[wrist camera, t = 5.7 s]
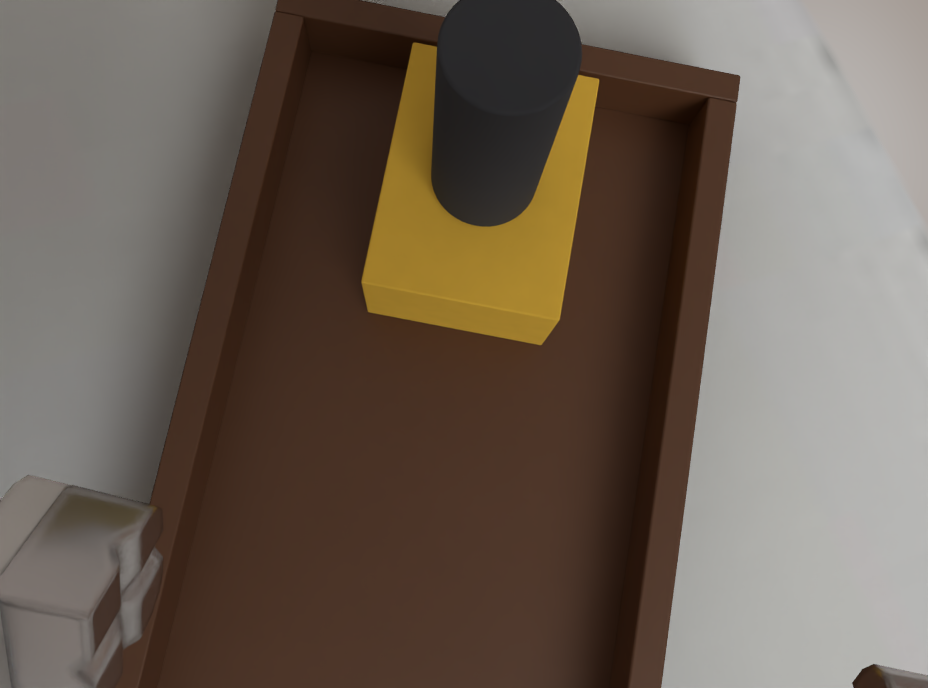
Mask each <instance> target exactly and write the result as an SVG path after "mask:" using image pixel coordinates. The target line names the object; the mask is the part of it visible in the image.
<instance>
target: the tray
mask: <svg viewBox="0 0 928 688" xmlns="http://www.w3.org/2000/svg"><path fill="white" fill-rule="evenodd" d="M275 10H276V12H275V13H274V17H273V21H272V25H271V29H270V33H269V37H268V41H267V45H266V48H265V52H264V56H263V60H262V64H261V68H260V72H259V76H258V80H257V84H256V88H255V92H254V96H253V99H252V103H251V107H250V111H249V115H248V119H247V123H246V127H245V131H244V135H243V139H242V143H241V147H240V150H239V154H238V158H237V162H236V166H235V170H234V174H233V178H232V182H231V186H230V190H229V194H228V197H227V201H226V205H225V209H224V213H223V217H222V221H221V225H220V229H219V233H218V237H217V241H216V245H215V248H214V252H213V256H212V260H211V264H210V268H209V272H208V276H207V280H206V284H205V288H204V292H203V296H202V299H201V303H200V307H199V311H198V315H197V319H196V323H195V327H194V331H193V335H192V339H191V343H190V347H189V350H188V354H187V358H186V362H185V366H184V370H183V374H182V378H181V382H180V386H179V390H178V394H177V398H176V401H175V405H174V409H173V413H172V417H171V421H170V425H169V429H168V433H167V437H166V441H165V445H164V449H163V452H162V456H161V460H160V464H159V468H158V472H157V476H156V480H155V484H154V488H153V492H152V496H151V500H150V503H149V504H151V505H155V506H158V507H160V508H161V509H163V529H164V530H163V532H162V534H161V536H160V538H159V539H158V541H157V543H156V545H155V548H156V549H157V550H158V551H159V553H160V554H161V555H162V556H163V576H162V582H161V588H160V593H159V596H158V599H157V601H156V604H155V607H154V610H153V613H152V616H151V619H150V621H149V623H148V625H147V627H146V629H145V631H144V633H143V635H142V637H141V639H140V640H138V641H136V642H135V643H133V644H131V645H130V646H128V647H127V648H125V649H123V674H122V676H121V678H120V680H119V682H118V684H117V685H116V687H115V688H661V684H662V677H663V669H664V661H665V653H666V646H667V638H668V630H669V623H670V615H671V607H672V599H673V592H674V584H675V576H676V569H677V561H678V553H679V545H680V538H681V530H682V522H683V515H684V507H685V499H686V491H687V484H688V476H689V468H690V461H691V453H692V445H693V437H694V430H695V422H696V414H697V406H698V399H699V391H700V383H701V376H702V368H703V360H704V352H705V345H706V337H707V329H708V322H709V314H710V306H711V298H712V291H713V283H714V275H715V268H716V260H717V252H718V244H719V237H720V229H721V221H722V214H723V206H724V198H725V190H726V183H727V175H728V167H729V159H730V152H731V144H732V136H733V129H734V121H735V113H736V102H737V99H738V91H739V84H740V76H739V75H734V74H729V73H724V72H719V71H714V70H709V69H704V68H699V67H694V66H689V65H684V64H679V63H674V62H669V61H664V60H658V59H653V58H648V57H643V56H638V55H633V54H628V53H623V52H618V51H613V50H608V49H603V48H598V47H593V46H588V45H583V44H581V45H582V62H581V67H580V71H579V74H578V75H582V76H587V77H592V78H597V79H599V86H598V92H597V98H596V104H595V110H594V116H593V122H592V128H591V134H590V140H589V146H588V152H587V158H586V165H585V171H584V177H583V183H582V189H581V195H580V201H579V207H578V213H577V219H576V225H575V231H574V237H573V243H572V249H571V255H570V261H569V267H568V273H567V279H566V285H565V291H564V297H563V303H562V309H561V315H560V320H559V321H558V323H557V324H556V326H555V327H554V328H553V330H552V331H551V333H550V334H549V335H548V337H547V338H546V340H545V341H544V342H543V344H542V345H537V344H532V343H526V342H521V341H516V340H511V339H506V338H500V337H495V336H490V335H485V334H480V333H474V332H469V331H464V330H459V329H454V328H448V327H443V326H438V325H433V324H428V323H422V322H417V321H412V320H407V319H402V318H396V317H391V316H386V315H381V314H376V313H370V312H368V310H367V305H366V301H365V296H364V292H363V287H362V283H361V280H362V275H363V271H364V266H365V261H366V257H367V252H368V247H369V243H370V238H371V234H372V229H373V224H374V220H375V215H376V211H377V206H378V201H379V197H380V192H381V187H382V183H383V178H384V174H385V169H386V164H387V160H388V155H389V150H390V146H391V141H392V137H393V132H394V127H395V123H396V118H397V114H398V109H399V104H400V100H401V95H402V90H403V86H404V81H405V77H406V72H407V67H408V63H409V58H410V54H411V49H412V44H413V43H420V44H425V45H430V46H435V47H437V41H438V34H439V31H440V27H441V25H442V23H443V21H444V19H445V17H442V16H437V15H431V14H426V13H421V12H416V11H411V10H406V9H401V8H396V7H391V6H386V5H381V4H376V3H371V2H366V1H361V0H278V2H277V5H276V9H275Z"/></svg>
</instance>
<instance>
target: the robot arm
mask: <svg viewBox="0 0 928 688" xmlns="http://www.w3.org/2000/svg"><path fill="white" fill-rule="evenodd" d="M163 530H164V529H163V509H161V508H160V507H158V506H155V505H151V504H147V503H143V502H139V501H135V500H131V499H127V498H123V497H118V496H114V495H110V494H106V493H102V492H98V491H94V490H90V489H86V488H82V487H78V486H74V485H68V484H64V483H60V482H56V481H51V480H47V479H43V478H39V477H35V476H31V475H27V476H26V477H24V478H22V479H21V480H19V481H18V482H16V483H14V484H13V485H12V487H11V488H10V489H9V490H8V492H7V493H6V494H5V495H4V497H3V498H2V499H1V500H0V688H115V687H116V685H117V684H118V682H119V680H120V678H121V676H122V674H123V649H125V648H127V647H128V646H130V645H131V644H133V643H135V642H136V641H138V640H140V639H141V637H142V635H143V633H144V631H145V629H146V627H147V625H148V623H149V621H150V619H151V616H152V613H153V610H154V607H155V604H156V601H157V599H158V596H159V593H160V588H161V582H162V576H163V556H162V555H161V554H160V553H159V551H158V550H157V549H156V548H155V545H156V543H157V541H158V539H159V538H160V536H161V534H162V532H163ZM852 684H853V687H854V688H928V675H923V674H918V673H914V672H909V671H904V670H899V669H895V668H890V667H885V666H880V665H875V664H873V665H871V666H869V667H866V668H864V669H862V671H861V672H860V673H859V675H858V676H857V677H856V679H855V680H854V681H853V683H852Z"/></svg>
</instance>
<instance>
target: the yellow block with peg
mask: <svg viewBox="0 0 928 688" xmlns="http://www.w3.org/2000/svg"><path fill="white" fill-rule="evenodd" d="M581 62H582V45H581V40H580V36H579V33H578V30H577V28H576V26H575V24H574V21H573V20H572V18H571V17H570V15H569V14H568V12H567V11H566V10H565V9H564V8H563V6H562V5H560V4H559V3H558V2H557V1H556V0H460V1H459V2H457V3H456V4H455V5H454V6H453V7H452V9H451V10H450V11H449V12H448V14H447V15H446V17H445V19H444V21H443V23H442V25H441V27H440V31H439V34H438V41H437V47H435V46H430V45H425V44H420V43H413V44H412V49H411V54H410V58H409V63H408V67H407V72H406V77H405V81H404V86H403V90H402V95H401V100H400V104H399V109H398V114H397V118H396V123H395V127H394V132H393V137H392V141H391V146H390V150H389V155H388V160H387V164H386V169H385V174H384V178H383V183H382V187H381V192H380V197H379V201H378V206H377V211H376V215H375V220H374V224H373V229H372V234H371V238H370V243H369V247H368V252H367V257H366V261H365V266H364V271H363V275H362V280H361V283H362V287H363V292H364V296H365V301H366V305H367V310H368V312H370V313H376V314H381V315H386V316H391V317H396V318H402V319H407V320H412V321H417V322H422V323H428V324H433V325H438V326H443V327H448V328H454V329H459V330H464V331H469V332H474V333H480V334H485V335H490V336H495V337H500V338H506V339H511V340H516V341H521V342H526V343H532V344H537V345H542V344H543V342H544V341H545V340H546V338H547V337H548V335H549V334H550V333H551V331H552V330H553V328H554V327H555V326H556V324H557V323H558V321H559V320H560V315H561V309H562V303H563V297H564V291H565V285H566V279H567V273H568V267H569V261H570V255H571V249H572V243H573V237H574V231H575V225H576V219H577V213H578V207H579V201H580V195H581V189H582V183H583V177H584V171H585V165H586V158H587V152H588V146H589V140H590V134H591V128H592V122H593V116H594V110H595V104H596V98H597V92H598V86H599V79H597V78H592V77H587V76H582V75H578V74H579V71H580V67H581Z"/></svg>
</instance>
